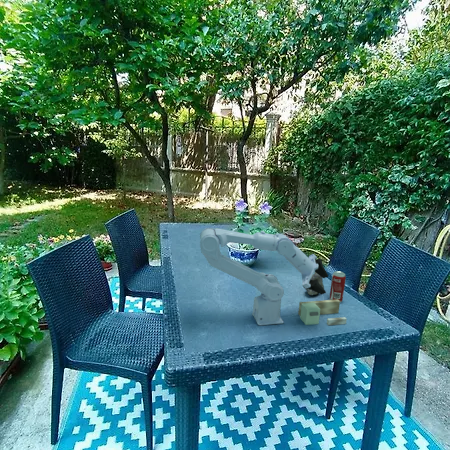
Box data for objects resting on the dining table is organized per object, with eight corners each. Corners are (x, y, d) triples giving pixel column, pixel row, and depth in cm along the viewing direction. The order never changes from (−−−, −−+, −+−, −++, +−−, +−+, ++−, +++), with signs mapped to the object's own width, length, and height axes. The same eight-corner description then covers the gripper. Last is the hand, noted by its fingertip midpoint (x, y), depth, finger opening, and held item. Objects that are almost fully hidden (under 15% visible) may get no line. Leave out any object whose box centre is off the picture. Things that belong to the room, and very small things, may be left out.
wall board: (308, 327, 103) (310, 314, 101) (298, 314, 111) (299, 302, 110) (349, 323, 106) (351, 311, 105) (336, 311, 114) (337, 299, 113)
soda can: (331, 295, 127) (335, 269, 124) (344, 299, 124) (347, 273, 121) (327, 300, 123) (330, 273, 120) (339, 304, 120) (343, 276, 117)
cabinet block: (306, 326, 103) (308, 311, 102) (300, 318, 108) (301, 303, 107) (319, 325, 104) (321, 310, 103) (312, 317, 109) (314, 302, 108)
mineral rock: (308, 299, 123) (311, 276, 121) (293, 288, 133) (295, 267, 130) (332, 294, 128) (334, 272, 126) (315, 284, 138) (317, 264, 136)
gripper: (305, 272, 95) (331, 298, 98) (312, 242, 105) (336, 266, 108) (288, 278, 100) (314, 303, 103) (297, 249, 110) (320, 272, 113)
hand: (324, 284), depth 106 cm, fingers open, 7 cm apart
